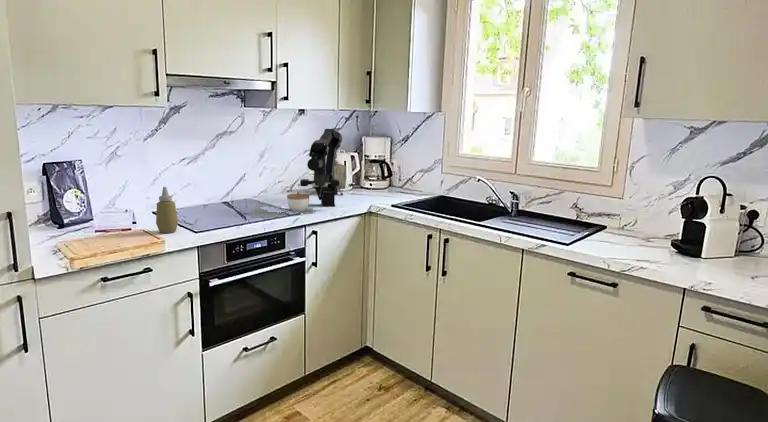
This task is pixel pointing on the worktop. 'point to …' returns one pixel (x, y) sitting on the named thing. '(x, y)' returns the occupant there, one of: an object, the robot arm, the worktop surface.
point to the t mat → (265, 213)
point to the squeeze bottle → (166, 213)
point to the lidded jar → (298, 202)
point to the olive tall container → (340, 175)
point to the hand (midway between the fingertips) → (320, 200)
